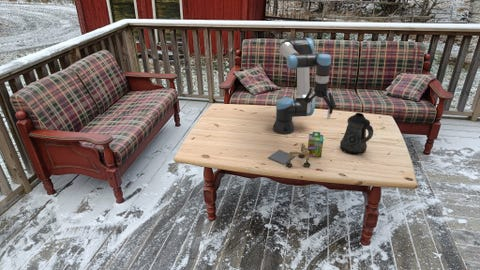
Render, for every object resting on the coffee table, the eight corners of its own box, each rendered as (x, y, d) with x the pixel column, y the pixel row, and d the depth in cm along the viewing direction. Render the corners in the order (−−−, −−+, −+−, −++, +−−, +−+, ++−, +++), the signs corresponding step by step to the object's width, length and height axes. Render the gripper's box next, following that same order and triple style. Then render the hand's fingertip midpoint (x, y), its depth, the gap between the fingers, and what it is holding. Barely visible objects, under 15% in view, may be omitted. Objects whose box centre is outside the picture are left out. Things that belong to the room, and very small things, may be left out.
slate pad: (268, 158, 210) (268, 157, 210) (279, 150, 218) (279, 149, 218) (284, 165, 203) (284, 163, 203) (294, 157, 211) (294, 155, 211)
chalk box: (306, 156, 212) (308, 135, 205) (307, 148, 220) (309, 128, 213) (321, 157, 210) (324, 136, 203) (321, 150, 218) (324, 130, 211)
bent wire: (284, 166, 202) (285, 152, 197) (300, 154, 214) (301, 140, 209) (301, 173, 195) (302, 159, 190) (317, 160, 207) (318, 146, 202)
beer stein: (343, 140, 229) (348, 106, 218) (373, 147, 220) (380, 112, 209) (336, 151, 217) (341, 116, 205) (367, 159, 208) (374, 122, 196)
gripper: (299, 79, 198) (297, 112, 208) (339, 88, 183) (334, 123, 193) (306, 76, 203) (303, 108, 213) (345, 84, 188) (340, 118, 198)
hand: (318, 115), depth 203 cm, fingers open, 13 cm apart
